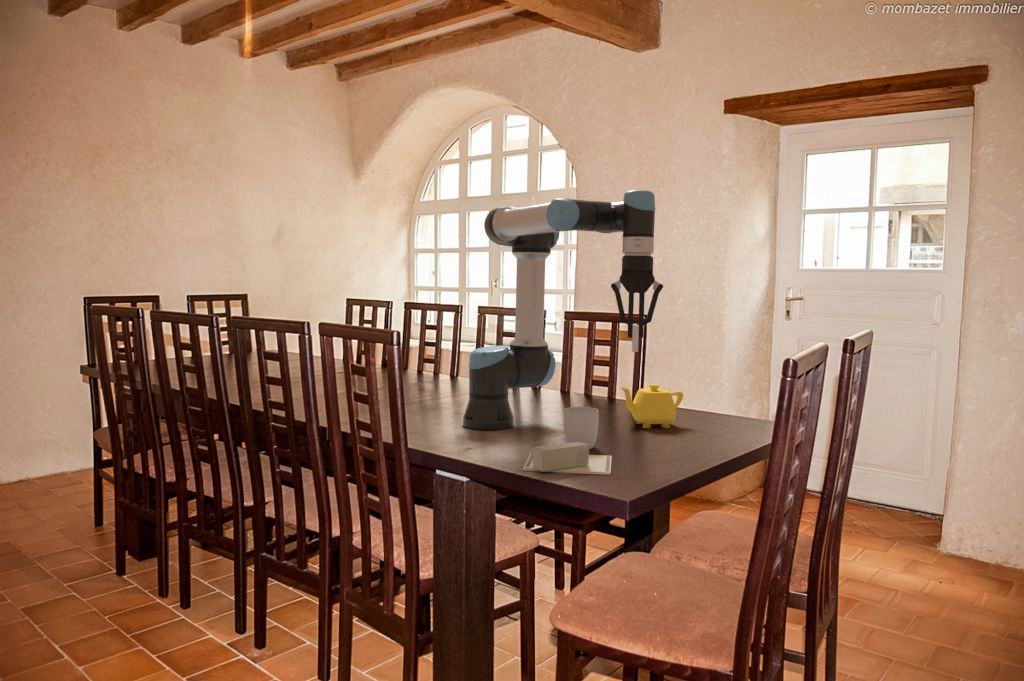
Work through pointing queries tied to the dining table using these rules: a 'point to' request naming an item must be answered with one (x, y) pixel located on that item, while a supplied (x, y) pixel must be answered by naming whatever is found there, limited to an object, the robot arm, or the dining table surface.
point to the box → (560, 456)
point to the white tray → (595, 466)
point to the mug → (581, 425)
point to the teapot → (653, 406)
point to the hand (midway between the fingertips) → (634, 351)
